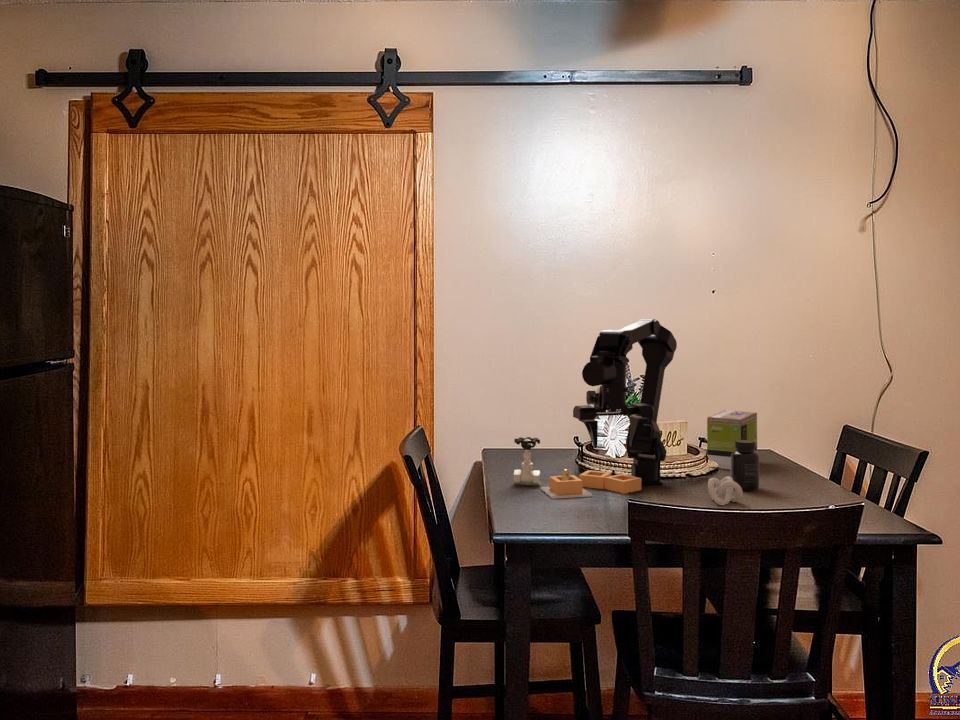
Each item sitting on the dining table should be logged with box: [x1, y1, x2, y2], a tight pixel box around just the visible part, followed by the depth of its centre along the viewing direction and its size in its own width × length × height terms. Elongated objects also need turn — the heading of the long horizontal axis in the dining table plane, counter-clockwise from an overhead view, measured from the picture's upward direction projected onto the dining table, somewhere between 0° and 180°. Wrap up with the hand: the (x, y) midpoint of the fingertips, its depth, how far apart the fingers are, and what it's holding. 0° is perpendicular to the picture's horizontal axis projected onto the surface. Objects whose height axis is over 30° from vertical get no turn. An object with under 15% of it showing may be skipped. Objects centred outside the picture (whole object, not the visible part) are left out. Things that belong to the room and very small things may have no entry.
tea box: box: [706, 410, 758, 471], centre depth 230 cm, size 15×10×15 cm, turn 144°
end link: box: [548, 474, 583, 494], centre depth 198 cm, size 6×6×3 cm
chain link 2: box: [604, 473, 642, 495], centre depth 201 cm, size 6×6×3 cm
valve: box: [513, 436, 542, 487], centre depth 206 cm, size 7×7×12 cm
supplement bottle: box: [730, 440, 760, 492], centre depth 201 cm, size 7×7×12 cm
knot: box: [707, 475, 744, 505], centre depth 188 cm, size 8×8×6 cm
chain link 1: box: [578, 469, 613, 490], centre depth 206 cm, size 6×6×3 cm
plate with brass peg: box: [539, 468, 593, 500], centre depth 198 cm, size 10×10×6 cm
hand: (613, 447), depth 193 cm, fingers open, 9 cm apart
